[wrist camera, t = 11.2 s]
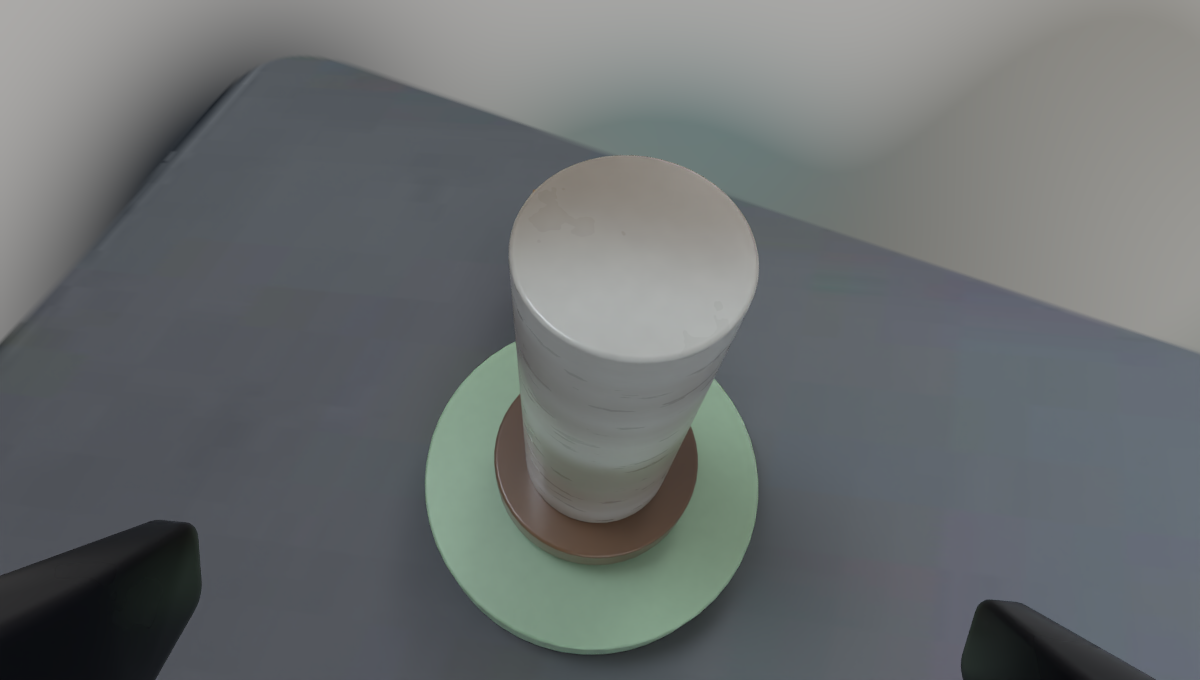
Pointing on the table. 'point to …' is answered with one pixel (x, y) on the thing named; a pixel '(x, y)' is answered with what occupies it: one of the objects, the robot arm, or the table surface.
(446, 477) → the stand
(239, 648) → the table surface
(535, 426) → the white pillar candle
